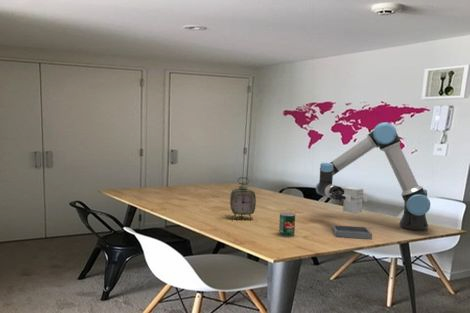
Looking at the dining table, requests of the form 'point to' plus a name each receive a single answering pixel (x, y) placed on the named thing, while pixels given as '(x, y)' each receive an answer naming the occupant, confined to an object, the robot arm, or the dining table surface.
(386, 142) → the robot arm
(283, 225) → the canned tomato
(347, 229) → the gray tray
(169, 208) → the dining table surface
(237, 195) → the tabletop clock
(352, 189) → the supplement box
